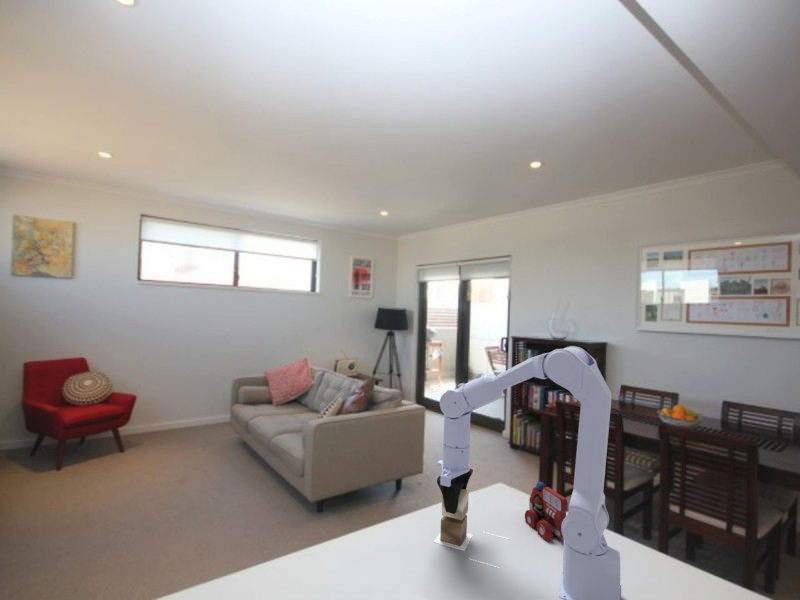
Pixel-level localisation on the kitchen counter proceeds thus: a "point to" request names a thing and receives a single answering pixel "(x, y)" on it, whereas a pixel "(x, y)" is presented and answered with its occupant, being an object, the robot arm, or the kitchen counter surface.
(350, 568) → the kitchen counter surface
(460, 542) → the walnut block
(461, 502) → the maple block
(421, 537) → the kitchen counter surface
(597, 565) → the robot arm
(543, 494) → the toy fire truck
